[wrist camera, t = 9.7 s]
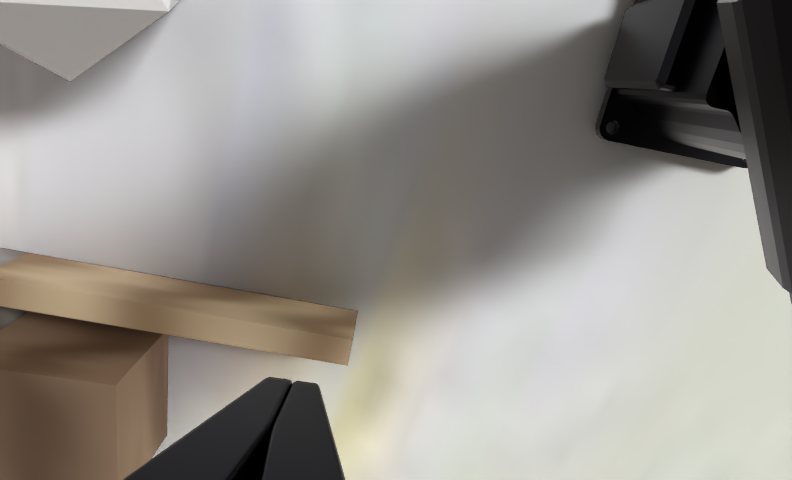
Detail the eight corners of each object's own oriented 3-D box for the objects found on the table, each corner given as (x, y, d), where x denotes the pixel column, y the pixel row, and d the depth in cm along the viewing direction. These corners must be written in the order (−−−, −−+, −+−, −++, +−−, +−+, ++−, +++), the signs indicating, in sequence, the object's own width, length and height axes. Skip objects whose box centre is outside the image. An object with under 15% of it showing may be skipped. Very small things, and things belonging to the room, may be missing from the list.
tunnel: (357, 311, 22) (351, 346, 19) (323, 496, 25) (313, 549, 22) (-1, 247, 21) (-64, 274, 18) (14, 447, 24) (-38, 497, 21)
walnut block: (170, 326, 22) (115, 385, 18) (168, 432, 24) (119, 508, 20) (36, 307, 22) (-52, 362, 18) (45, 416, 24) (-33, 490, 19)
